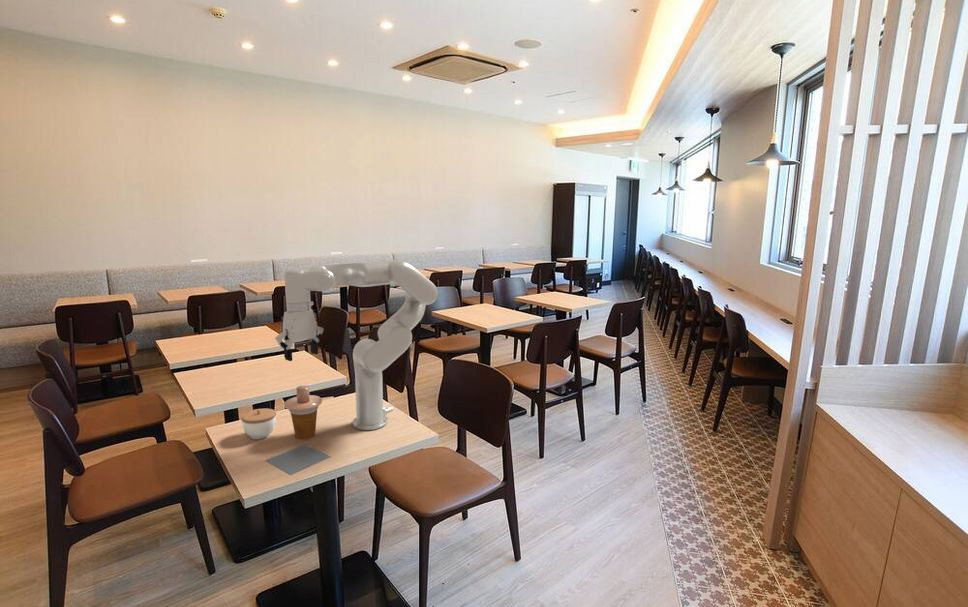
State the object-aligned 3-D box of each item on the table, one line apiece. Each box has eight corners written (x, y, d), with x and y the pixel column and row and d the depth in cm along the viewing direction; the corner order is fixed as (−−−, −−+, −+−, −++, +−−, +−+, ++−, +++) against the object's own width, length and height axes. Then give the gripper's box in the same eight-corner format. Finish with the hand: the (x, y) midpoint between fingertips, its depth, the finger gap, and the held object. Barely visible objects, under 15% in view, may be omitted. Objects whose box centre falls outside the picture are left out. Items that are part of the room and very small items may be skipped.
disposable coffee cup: (324, 436, 169) (323, 403, 166) (297, 445, 162) (295, 411, 160) (312, 428, 175) (310, 396, 173) (285, 436, 169) (283, 403, 167)
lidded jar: (238, 435, 169) (236, 409, 168) (269, 426, 177) (268, 401, 175) (249, 445, 162) (247, 418, 160) (282, 435, 169) (280, 410, 168)
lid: (308, 394, 175) (307, 379, 174) (329, 402, 168) (328, 386, 167) (277, 404, 165) (276, 388, 164) (298, 413, 158) (297, 396, 157)
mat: (305, 445, 162) (305, 444, 162) (331, 458, 154) (331, 456, 154) (265, 462, 151) (264, 460, 151) (290, 476, 143) (290, 474, 143)
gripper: (314, 301, 170) (317, 349, 173) (267, 309, 156) (271, 360, 159) (328, 304, 165) (330, 353, 169) (280, 312, 152) (284, 365, 155)
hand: (301, 356), depth 164 cm, fingers open, 9 cm apart
